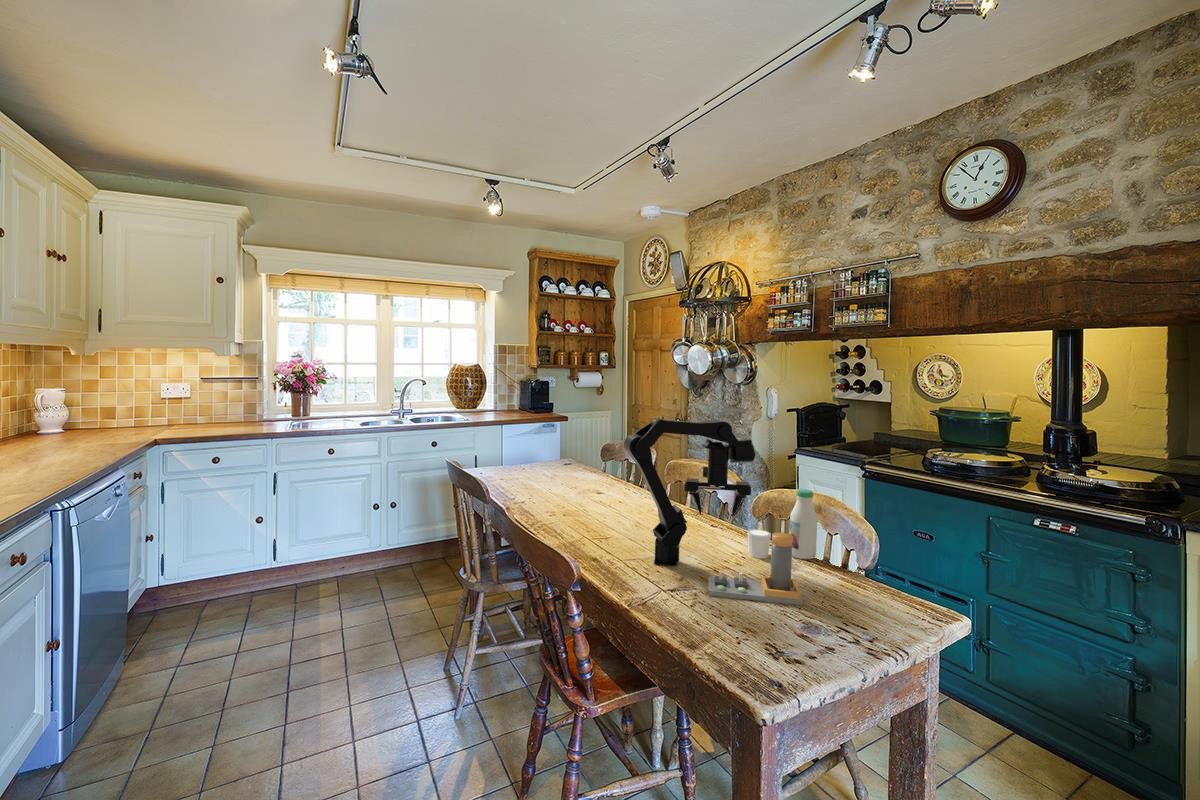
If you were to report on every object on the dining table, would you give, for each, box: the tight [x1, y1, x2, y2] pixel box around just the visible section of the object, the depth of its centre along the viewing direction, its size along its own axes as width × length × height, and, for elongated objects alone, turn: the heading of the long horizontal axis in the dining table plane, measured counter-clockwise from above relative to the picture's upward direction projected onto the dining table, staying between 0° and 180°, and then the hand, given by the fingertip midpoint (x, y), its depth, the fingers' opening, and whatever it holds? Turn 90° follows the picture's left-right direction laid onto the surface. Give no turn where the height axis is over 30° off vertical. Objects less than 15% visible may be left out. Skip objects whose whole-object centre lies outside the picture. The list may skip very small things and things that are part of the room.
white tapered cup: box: [746, 528, 772, 560], centre depth 155 cm, size 7×7×7 cm
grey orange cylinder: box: [769, 532, 793, 591], centre depth 128 cm, size 5×5×14 cm
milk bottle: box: [788, 488, 818, 560], centre depth 155 cm, size 8×8×20 cm
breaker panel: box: [707, 570, 803, 606], centre depth 129 cm, size 22×9×4 cm, turn 79°
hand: (716, 515), depth 151 cm, fingers open, 9 cm apart
